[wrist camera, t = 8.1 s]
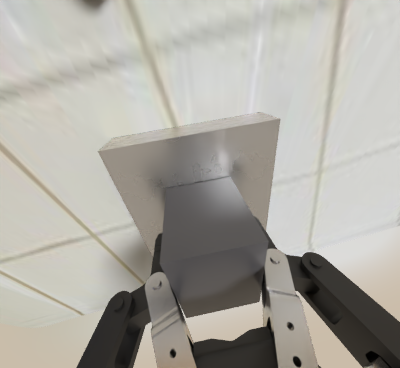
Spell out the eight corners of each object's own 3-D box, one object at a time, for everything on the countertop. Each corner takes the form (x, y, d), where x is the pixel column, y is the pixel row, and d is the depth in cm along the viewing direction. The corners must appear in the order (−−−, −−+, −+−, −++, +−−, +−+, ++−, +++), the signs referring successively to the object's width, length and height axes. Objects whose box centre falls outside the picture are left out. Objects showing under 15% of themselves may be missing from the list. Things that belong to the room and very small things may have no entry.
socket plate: (260, 112, 13) (280, 118, 10) (252, 228, 20) (263, 248, 18) (113, 138, 13) (97, 151, 10) (161, 246, 20) (159, 269, 18)
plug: (223, 165, 14) (268, 241, 7) (227, 226, 18) (258, 309, 11) (167, 176, 14) (159, 263, 7) (184, 235, 18) (190, 325, 11)
